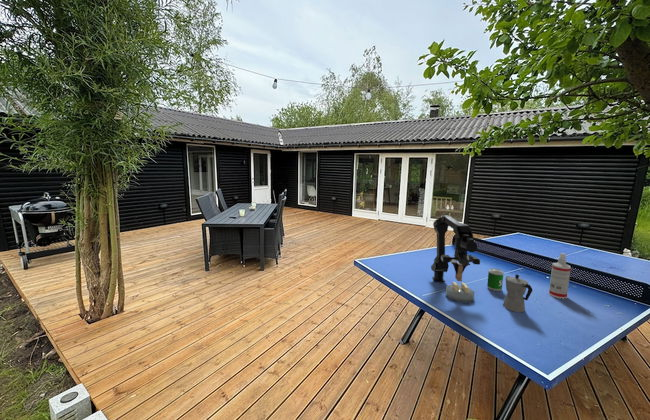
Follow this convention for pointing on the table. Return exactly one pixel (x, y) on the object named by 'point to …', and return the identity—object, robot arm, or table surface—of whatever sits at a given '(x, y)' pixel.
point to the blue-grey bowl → (460, 292)
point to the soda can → (495, 279)
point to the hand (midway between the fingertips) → (458, 274)
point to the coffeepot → (516, 293)
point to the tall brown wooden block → (459, 272)
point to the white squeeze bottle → (560, 278)
